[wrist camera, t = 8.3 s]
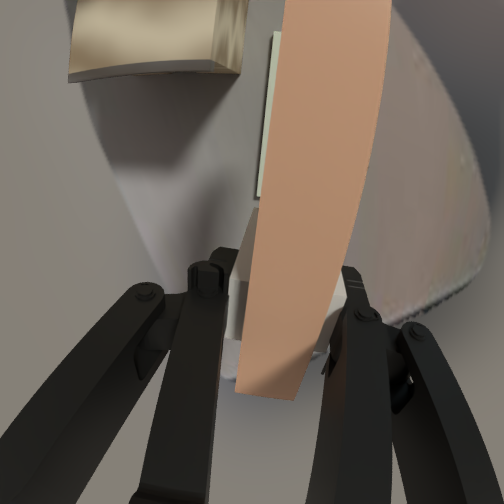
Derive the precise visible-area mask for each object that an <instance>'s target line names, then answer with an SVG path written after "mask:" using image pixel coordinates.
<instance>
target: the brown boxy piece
mask: <svg viewBox="0 0 504 504" xmlns="http://www.w3.org/2000/svg"><path fill="white" fill-rule="evenodd" d="M248 2H249V0H78V1H77V7H76V12H75V19H74V25H73V32H72V40H71V50H70V61H69V75H68V83H77V82H83V81H89V80H96V79H103V78H110V77H118V76H127V75H134V76H138V75H151V74H171V72H197V73H224V74H241V65H242V55H243V46H244V36H245V27H246V19H247V10H248Z"/></svg>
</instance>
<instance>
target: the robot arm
mask: <svg viewBox="0 0 504 504" xmlns="http://www.w3.org/2000/svg"><path fill="white" fill-rule="evenodd" d="M258 211H259V208H255V207H254V209H253V212H252V215H251V218H250V221H249V223H248V226H247V229H246V232H245V235H244V238H243V241H242V244H241V247H240V249H239V250H237V249H231V248H225V247H219V248H218V249H216V250H214V251H213V252H212V254H211V256H210V258H209V260H208V261H199V262H195V263H194V264H192V265H190V267H189V268H188V291H187V292H184V293H180V294H164V289H163V288H162V287H161V286H160V285H157V284H155V283H150V282H142V283H138V284H135V285H133V286H132V287H130V288H129V289H128V290H127V291H126V292H125V293H124V294H123V295H122V296H121V297H120V298H119V299H118V300H117V302H116V303H115V304H114V305H113V306H112V307H111V308H110V309H109V310H108V311H107V312H106V313H105V314H104V316H102V317H101V319H100V320H99V321H98V322H97V323H96V324H95V325H94V326H93V327H92V328H91V329H90V330H89V332H88V333H87V334H86V335H85V336H84V337H83V338H82V339H81V340H80V342H79V343H78V344H77V345H76V346H75V347H74V348H73V349H72V351H71V352H70V353H69V354H68V355H67V356H66V357H65V358H64V360H63V361H62V362H61V363H60V364H59V365H58V367H57V368H56V369H55V370H54V371H53V372H52V374H51V375H50V376H49V377H48V378H47V380H46V381H45V382H44V383H43V384H42V386H41V387H40V388H39V389H38V390H37V392H36V393H35V394H34V395H33V397H32V398H31V399H30V401H29V402H28V403H27V404H26V405H25V407H24V408H23V409H22V410H21V412H20V413H19V415H18V416H17V417H16V418H15V419H14V421H13V422H12V423H11V425H10V426H9V427H8V429H7V430H6V431H5V433H4V434H3V435H2V437H1V438H0V504H76V502H77V500H78V499H79V497H80V495H81V493H82V492H83V490H84V489H85V487H86V485H87V483H88V482H89V480H90V478H91V477H92V475H93V473H94V472H95V470H96V468H97V467H98V465H99V463H100V462H101V460H102V458H103V456H104V455H105V453H106V452H107V450H108V448H109V447H110V445H111V443H112V442H113V440H114V438H115V437H116V435H117V433H118V432H119V430H120V428H121V427H122V425H123V424H124V422H125V420H126V419H127V417H128V415H129V414H130V412H131V411H132V409H133V407H134V406H135V404H136V402H137V401H138V399H139V398H140V396H141V394H142V393H143V391H144V389H145V388H146V386H147V385H148V383H149V382H150V380H151V378H152V377H153V375H154V374H155V372H156V370H157V369H158V367H159V366H160V364H161V362H162V361H163V359H164V358H165V356H166V354H167V353H168V350H171V351H170V354H169V358H168V362H167V366H166V369H165V373H164V377H163V381H162V385H161V390H160V393H159V397H158V402H157V405H156V410H155V414H154V418H153V422H152V427H151V431H150V436H149V440H148V444H147V449H146V454H145V459H144V464H143V468H142V473H141V478H140V483H139V487H138V489H137V491H136V492H135V493H134V494H133V496H132V497H131V499H130V501H129V504H208V502H209V488H210V475H211V464H212V453H213V452H212V451H213V441H214V430H215V420H216V408H217V399H218V389H219V379H220V369H221V359H222V350H223V338H224V334H225V338H229V339H235V340H241V341H242V334H243V326H244V319H245V311H246V303H247V296H248V288H249V280H250V273H251V265H252V257H253V250H254V242H255V234H256V227H257V219H258ZM362 282H363V281H362V278H361V275H360V273H359V272H358V271H357V270H356V269H355V268H354V267H348V266H342V268H341V271H340V275H339V278H338V281H337V284H336V287H335V291H334V294H333V297H332V300H331V303H330V306H329V309H328V312H327V315H326V318H325V321H324V323H323V326H322V329H321V332H320V335H319V337H318V340H317V343H316V346H315V348H314V351H316V352H324V353H326V350H327V348H328V345H329V343H330V354H329V356H328V358H327V361H326V363H325V366H324V368H323V370H322V372H321V374H324V373H325V380H324V390H323V398H322V406H321V414H320V422H319V429H318V435H317V442H316V448H315V455H314V461H313V466H312V473H311V478H310V483H309V488H308V493H307V499H306V503H305V504H391V490H392V442H393V446H394V449H395V453H396V457H397V461H398V465H399V469H400V473H401V477H402V482H403V486H404V491H405V495H406V500H407V504H504V501H503V498H502V494H501V491H500V487H499V484H498V481H497V478H496V475H495V471H494V468H493V466H492V463H491V460H490V457H489V454H488V452H487V449H486V446H485V444H484V441H483V439H482V436H481V434H480V431H479V429H478V426H477V424H476V422H475V419H474V417H473V415H472V413H471V410H470V408H469V406H468V403H467V401H466V399H465V397H464V395H463V393H462V390H461V388H460V387H459V385H458V382H457V380H456V378H455V376H454V374H453V372H452V370H451V368H450V367H449V364H448V362H447V360H446V359H445V357H444V355H443V353H442V351H441V349H440V347H439V346H438V344H437V342H436V340H435V338H434V337H433V335H432V333H431V332H430V331H429V329H428V328H426V327H425V326H424V325H422V324H420V323H417V322H412V321H411V322H406V323H405V324H403V326H402V328H401V329H397V328H395V327H392V326H389V325H387V324H384V323H383V322H382V318H381V316H380V314H379V313H378V312H377V311H376V310H375V309H373V308H372V307H370V304H369V301H368V298H367V294H366V291H365V289H364V284H363V283H362ZM410 376H411V377H412V380H413V383H412V382H411V380H410Z"/></svg>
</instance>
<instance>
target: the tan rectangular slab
mask: <svg viewBox="0 0 504 504" xmlns="http://www.w3.org/2000/svg"><path fill="white" fill-rule="evenodd" d="M391 2H392V0H286V2H285V10H284V17H283V25H282V33H281V41H280V49H279V56H278V64H277V72H276V80H275V88H274V95H273V103H272V111H271V119H270V126H269V134H268V142H267V150H266V157H265V165H264V173H263V181H262V188H261V196H260V204H259V211H258V219H257V227H256V234H255V242H254V250H253V257H252V265H251V273H250V280H249V288H248V296H247V303H246V311H245V319H244V326H243V334H242V342H241V349H240V357H239V364H238V372H237V380H236V387H235V392H237V393H242V394H249V395H255V396H261V397H268V398H275V399H283V400H292V401H293V400H294V399H295V396H296V394H297V392H298V389H299V387H300V384H301V382H302V379H303V377H304V374H305V372H306V369H307V367H308V364H309V362H310V359H311V356H312V354H313V351H314V348H315V346H316V343H317V340H318V337H319V335H320V332H321V329H322V326H323V323H324V321H325V318H326V315H327V312H328V309H329V306H330V303H331V300H332V297H333V294H334V291H335V287H336V284H337V281H338V278H339V275H340V271H341V268H342V265H343V262H344V258H345V255H346V251H347V248H348V244H349V241H350V237H351V234H352V230H353V226H354V222H355V219H356V215H357V211H358V207H359V203H360V199H361V195H362V191H363V187H364V182H365V178H366V174H367V169H368V164H369V160H370V155H371V150H372V145H373V140H374V135H375V130H376V124H377V119H378V113H379V107H380V101H381V95H382V88H383V81H384V74H385V67H386V58H387V50H388V40H389V30H390V17H391Z"/></svg>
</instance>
